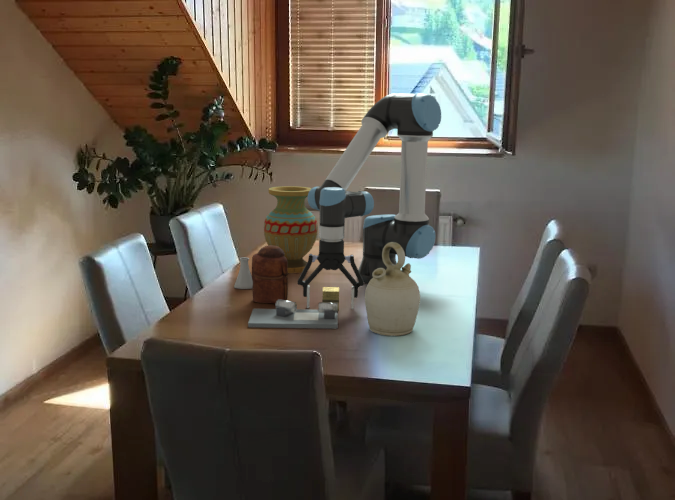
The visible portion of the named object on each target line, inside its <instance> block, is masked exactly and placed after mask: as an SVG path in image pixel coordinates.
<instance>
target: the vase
mask: <svg viewBox="0 0 675 500" xmlns="http://www.w3.org/2000/svg"><path fill="white" fill-rule="evenodd" d="M312 188H313V187H312ZM312 188H311V187H308V186H307V187H306V186H296V185H295V186H293V185H289V186H272V187H269V188H268V194H269V195H271V196H274V197H275V198H276V200H277V202H276V203H277V204H276V207H275V208H273V210H271V211H270V212H269V213H267V215H266V217H265V219H264V224H263V233H264V234H263V235H264V239H265V242H266V244H267V246H268V245H274V246H278V247H279V248H281V249H282V250H283V251H284V253H285V255H284V257H286V259H287V261H288V266H287V269H288V274H297V273H299V274H301V273H302V272H303V270H304V268H305V266H306V264H307V262H308V261H306V260H305V259H304V257H305V256H306V255H307V254H308V253H309V252H310V251H311V250H312V249H313V248H314V245H315V243H316V240H317V237H318V230H319V225H318V221H317V218H316V217H315V215H314V214H313V212H311V211H310V210H309V209H308V208H307V207H306V205H305V202H306V201H305V200H306V199H307V198H308V193H309V191H310V190H311V189H312Z"/></svg>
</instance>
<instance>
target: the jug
mask: <svg viewBox="0 0 675 500" xmlns="http://www.w3.org/2000/svg"><path fill="white" fill-rule="evenodd" d="M391 248H393V249H394V250H395V251H396V252H397V255H396V256H397V261H396V262H397V264H396V265H395V264H393V263H392V262H391V261H390V258H389V251H390V249H391ZM382 259H383V262H384V264H385V266H386V267H387V269H386V270H385V269H384V268H378V269H376V270H374V271H373V273H372V276H373V278H372V279H371V280H370V281H369V283H367V286H366V288H365V291H364V305H365V310H366V317H367V323H368V328H369V331H371V332H372V333H373V334H374V333H375V334H376V335H381V336H387V337H401V336H405V335H409V334H410V333H412V332H413V330H414V327H415V323H416V319H417V316H418V313H419V310H420V309H419V308H420V305H421V292H420V288H419V286H418V284H417V282H416V280H415V279H413V278H412V277H411V276H410V274H411V273H412V270H411V269H412V265H411V264H410V263H406V256H405V253H404V250H403V248H402V247H401V246H400V245H399V244H398V243H396V242H390V243H388V244H386V245H385V246H384V248H383V251H382ZM405 263H406V264H405Z"/></svg>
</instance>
